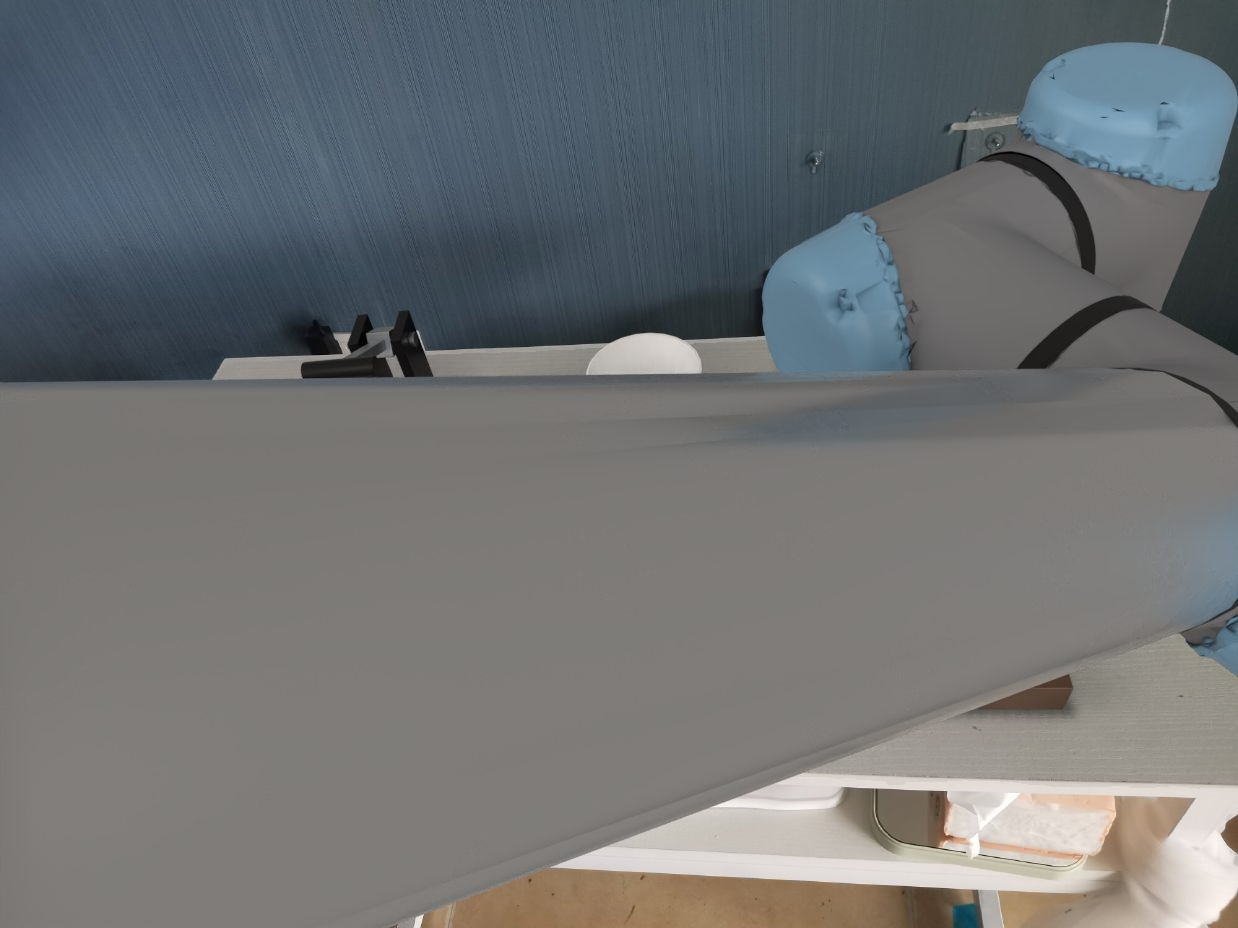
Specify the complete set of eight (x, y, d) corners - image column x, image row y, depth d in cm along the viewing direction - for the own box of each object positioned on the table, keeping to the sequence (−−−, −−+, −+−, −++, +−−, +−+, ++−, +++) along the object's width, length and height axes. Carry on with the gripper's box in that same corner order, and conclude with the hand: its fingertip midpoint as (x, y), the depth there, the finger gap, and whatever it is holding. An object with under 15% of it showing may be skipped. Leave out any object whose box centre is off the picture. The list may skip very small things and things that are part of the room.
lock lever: (375, 383, 71) (369, 353, 70) (304, 389, 72) (297, 360, 71) (422, 349, 84) (417, 323, 83) (361, 354, 84) (356, 329, 83)
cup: (722, 471, 81) (717, 391, 74) (617, 501, 80) (601, 423, 73) (688, 401, 88) (681, 321, 80) (591, 428, 87) (575, 350, 80)
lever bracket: (449, 462, 86) (409, 362, 77) (369, 468, 87) (321, 370, 78) (464, 386, 93) (430, 287, 84) (391, 392, 94) (349, 294, 85)
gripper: (1211, 545, 37) (1077, 773, 53) (1067, 244, 52) (997, 494, 68) (1021, 549, 38) (946, 771, 54) (933, 253, 53) (896, 497, 69)
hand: (974, 617), depth 61 cm, fingers open, 9 cm apart
